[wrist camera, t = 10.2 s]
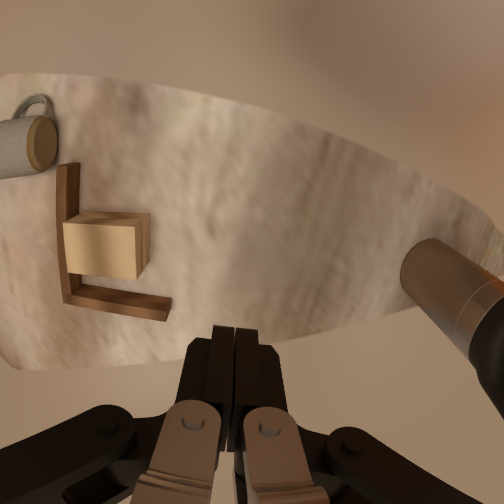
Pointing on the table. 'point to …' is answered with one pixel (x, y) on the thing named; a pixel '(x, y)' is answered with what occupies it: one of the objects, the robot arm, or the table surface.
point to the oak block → (107, 244)
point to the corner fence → (72, 282)
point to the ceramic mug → (27, 141)
